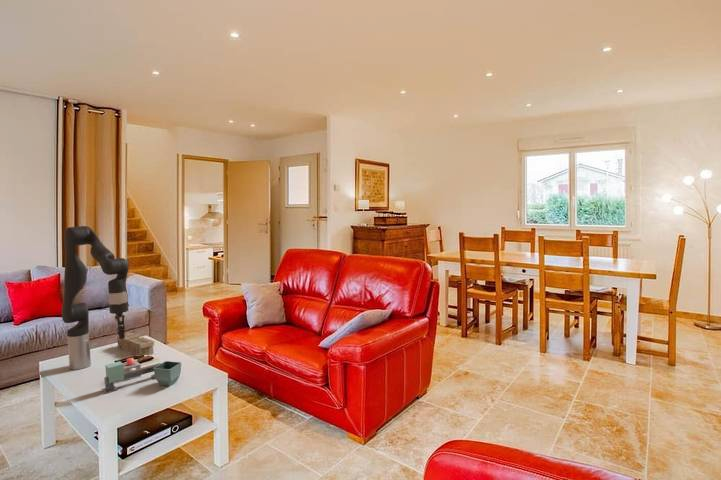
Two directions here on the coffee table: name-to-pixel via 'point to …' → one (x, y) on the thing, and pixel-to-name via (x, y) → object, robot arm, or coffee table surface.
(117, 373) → the carriage
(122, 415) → the coffee table surface
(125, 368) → the cabinet
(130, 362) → the button
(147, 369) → the handrail
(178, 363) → the flower pot
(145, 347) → the block tower
